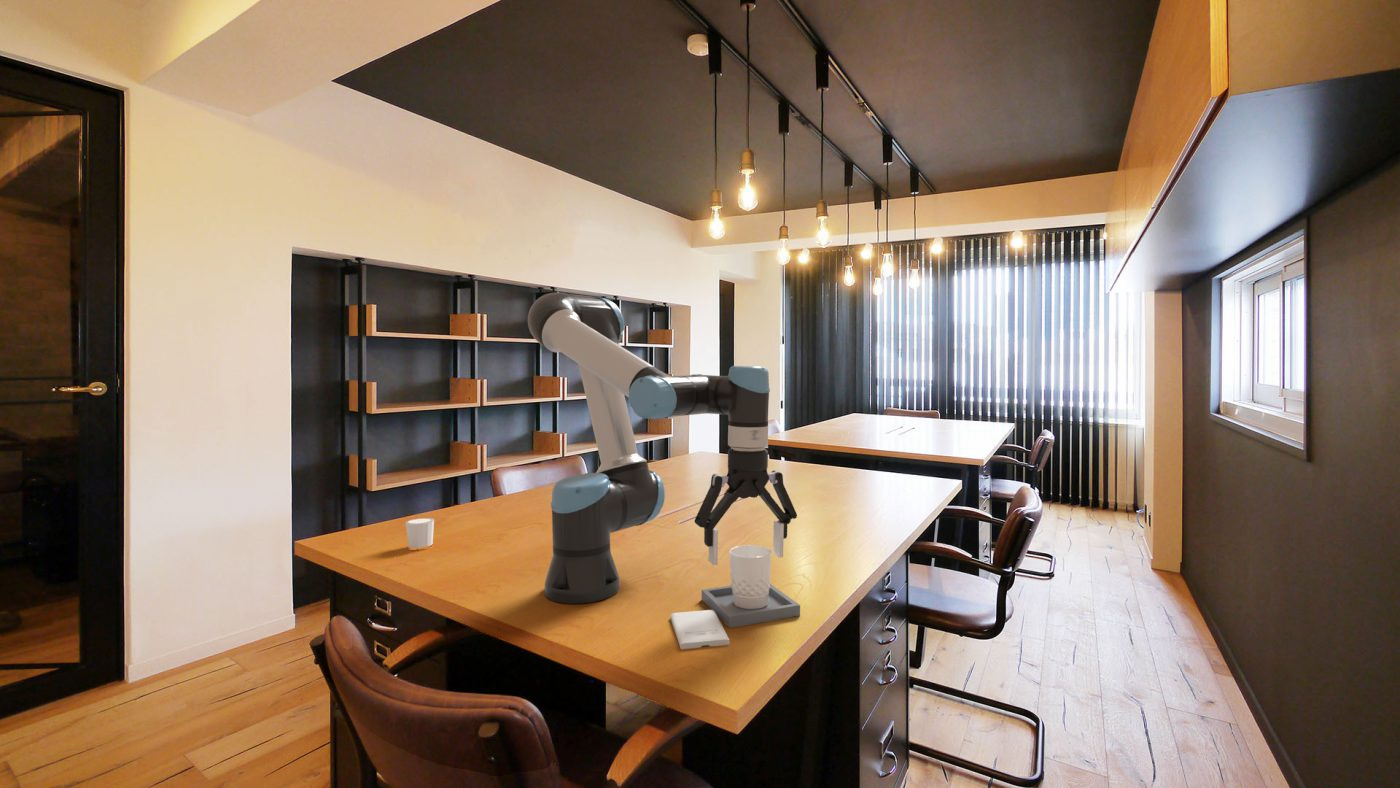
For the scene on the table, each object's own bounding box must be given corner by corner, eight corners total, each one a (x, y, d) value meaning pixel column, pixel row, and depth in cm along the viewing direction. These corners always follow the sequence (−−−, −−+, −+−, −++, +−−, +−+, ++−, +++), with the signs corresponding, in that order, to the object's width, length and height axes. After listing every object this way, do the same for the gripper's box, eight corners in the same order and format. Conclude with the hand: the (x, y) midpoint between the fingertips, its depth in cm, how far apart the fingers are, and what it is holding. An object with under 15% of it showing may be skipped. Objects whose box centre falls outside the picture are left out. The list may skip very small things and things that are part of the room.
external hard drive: (714, 618, 112) (729, 647, 99) (670, 621, 110) (680, 652, 98) (714, 609, 112) (729, 638, 99) (670, 612, 110) (680, 642, 98)
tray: (729, 627, 106) (729, 616, 106) (701, 599, 119) (701, 589, 119) (800, 615, 111) (800, 605, 111) (765, 590, 124) (765, 580, 124)
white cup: (769, 612, 110) (769, 558, 110) (727, 609, 112) (726, 556, 111) (773, 596, 118) (772, 545, 118) (733, 594, 120) (732, 544, 119)
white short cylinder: (400, 550, 154) (399, 523, 154) (417, 543, 161) (416, 517, 160) (424, 551, 153) (423, 524, 153) (440, 544, 160) (439, 517, 159)
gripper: (692, 453, 106) (691, 572, 107) (816, 448, 114) (813, 558, 116) (678, 447, 113) (677, 559, 114) (796, 442, 121) (794, 546, 123)
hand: (746, 559), depth 115 cm, fingers open, 13 cm apart
